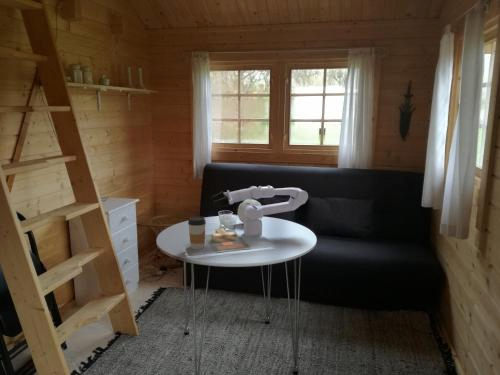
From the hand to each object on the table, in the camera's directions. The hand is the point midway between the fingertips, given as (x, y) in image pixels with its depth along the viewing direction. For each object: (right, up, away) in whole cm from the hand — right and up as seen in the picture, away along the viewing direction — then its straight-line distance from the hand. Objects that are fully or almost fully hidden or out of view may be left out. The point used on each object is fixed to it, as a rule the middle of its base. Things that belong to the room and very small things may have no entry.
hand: (212, 201), depth 204 cm
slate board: (+7, -21, -3) cm, 22 cm away
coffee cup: (-6, -22, -12) cm, 26 cm away
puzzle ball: (+19, -15, +29) cm, 38 cm away
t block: (+5, -19, +2) cm, 19 cm away
